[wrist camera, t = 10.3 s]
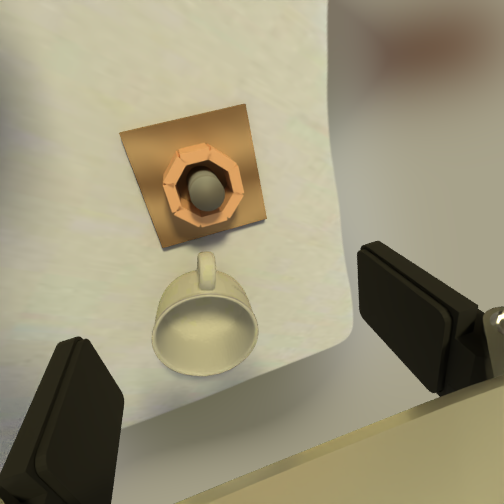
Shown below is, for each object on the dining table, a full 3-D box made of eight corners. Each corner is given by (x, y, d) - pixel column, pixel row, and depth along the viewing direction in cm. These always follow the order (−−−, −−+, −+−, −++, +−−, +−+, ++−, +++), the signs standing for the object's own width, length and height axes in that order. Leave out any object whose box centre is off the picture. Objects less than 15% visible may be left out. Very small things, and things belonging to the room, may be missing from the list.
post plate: (120, 132, 29) (109, 139, 23) (243, 103, 30) (261, 103, 25) (162, 245, 34) (162, 272, 29) (264, 216, 36) (283, 237, 30)
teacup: (231, 334, 42) (244, 379, 35) (148, 329, 38) (144, 379, 31) (258, 241, 37) (279, 272, 30) (165, 226, 34) (165, 258, 26)
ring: (155, 154, 29) (154, 160, 26) (226, 137, 30) (232, 141, 27) (178, 221, 33) (179, 233, 30) (241, 203, 34) (248, 214, 30)
